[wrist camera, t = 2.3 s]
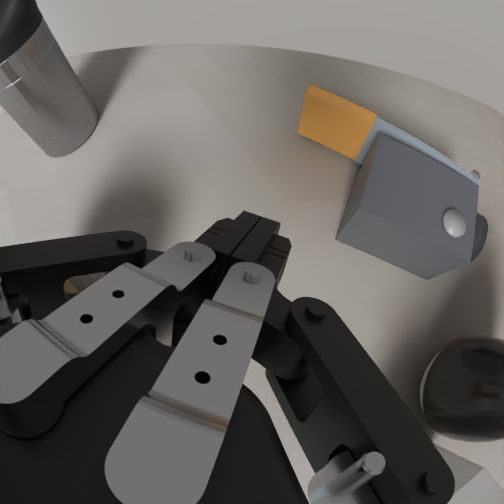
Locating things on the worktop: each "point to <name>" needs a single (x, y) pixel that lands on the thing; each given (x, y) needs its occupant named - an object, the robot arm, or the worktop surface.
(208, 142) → the worktop surface
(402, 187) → the camera body
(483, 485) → the milk carton
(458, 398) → the pump dispenser
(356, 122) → the grey and orange bar
